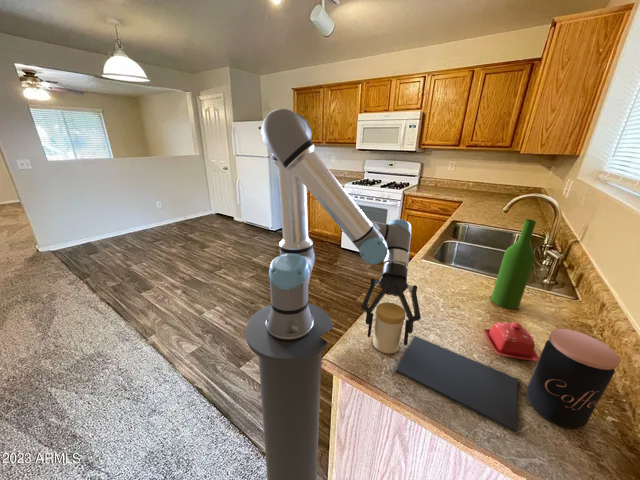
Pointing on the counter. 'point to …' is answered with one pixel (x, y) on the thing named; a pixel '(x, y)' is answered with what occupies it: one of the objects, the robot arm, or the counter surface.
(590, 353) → the coffee jar
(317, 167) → the robot arm
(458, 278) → the counter surface
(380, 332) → the cream-colored jar
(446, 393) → the mat
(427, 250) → the counter surface
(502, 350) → the butter dish
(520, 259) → the wine bottle
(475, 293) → the counter surface
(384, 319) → the lid
